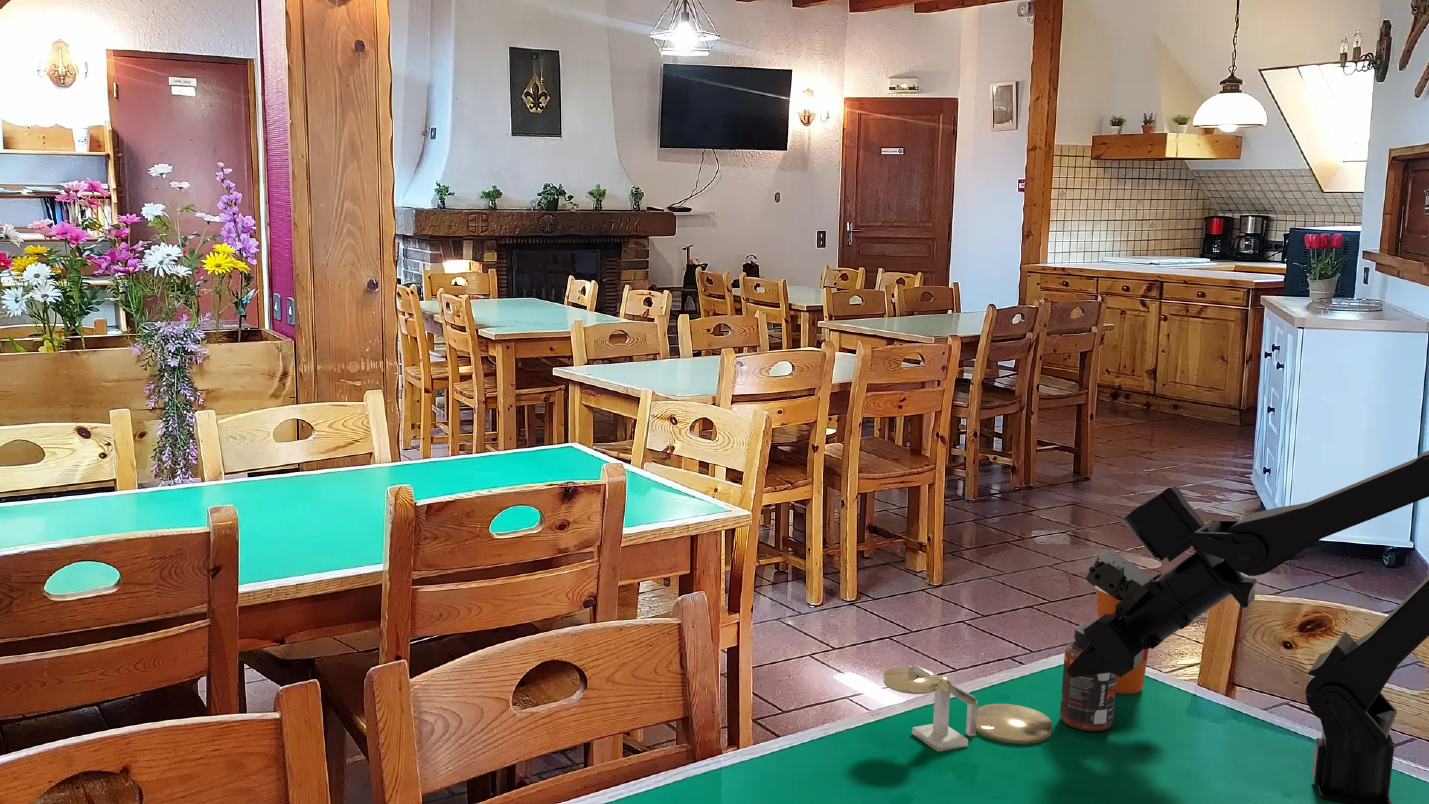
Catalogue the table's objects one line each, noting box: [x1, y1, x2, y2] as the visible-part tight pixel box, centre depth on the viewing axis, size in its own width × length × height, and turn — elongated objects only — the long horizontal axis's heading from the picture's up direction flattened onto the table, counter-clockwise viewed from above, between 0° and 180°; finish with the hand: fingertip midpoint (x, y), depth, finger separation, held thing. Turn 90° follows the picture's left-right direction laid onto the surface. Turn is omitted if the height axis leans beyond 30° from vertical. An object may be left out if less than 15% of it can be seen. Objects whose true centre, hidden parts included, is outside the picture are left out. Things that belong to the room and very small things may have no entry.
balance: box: [883, 663, 1053, 753], centre depth 137 cm, size 22×9×9 cm, turn 114°
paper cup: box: [1094, 586, 1150, 695], centre depth 153 cm, size 8×8×14 cm
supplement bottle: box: [1059, 624, 1117, 732], centre depth 142 cm, size 6×6×11 cm
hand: (1078, 665), depth 142 cm, fingers closed on supplement bottle, 6 cm apart
